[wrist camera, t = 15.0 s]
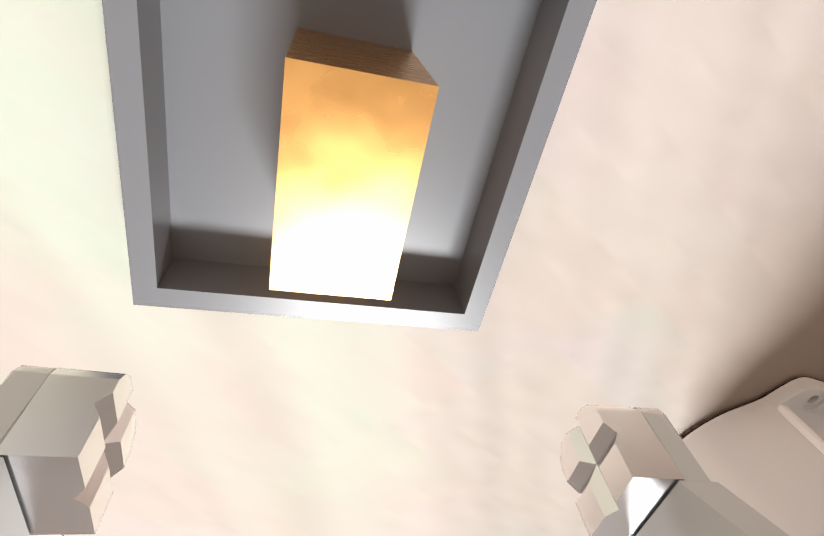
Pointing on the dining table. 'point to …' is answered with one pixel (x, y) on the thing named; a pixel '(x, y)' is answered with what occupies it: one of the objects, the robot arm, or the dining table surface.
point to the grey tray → (260, 132)
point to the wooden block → (347, 164)
